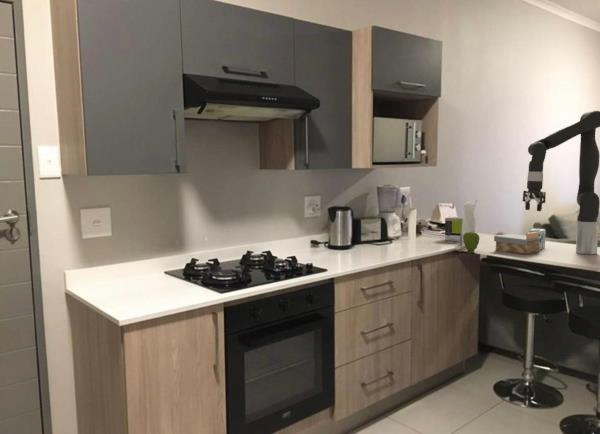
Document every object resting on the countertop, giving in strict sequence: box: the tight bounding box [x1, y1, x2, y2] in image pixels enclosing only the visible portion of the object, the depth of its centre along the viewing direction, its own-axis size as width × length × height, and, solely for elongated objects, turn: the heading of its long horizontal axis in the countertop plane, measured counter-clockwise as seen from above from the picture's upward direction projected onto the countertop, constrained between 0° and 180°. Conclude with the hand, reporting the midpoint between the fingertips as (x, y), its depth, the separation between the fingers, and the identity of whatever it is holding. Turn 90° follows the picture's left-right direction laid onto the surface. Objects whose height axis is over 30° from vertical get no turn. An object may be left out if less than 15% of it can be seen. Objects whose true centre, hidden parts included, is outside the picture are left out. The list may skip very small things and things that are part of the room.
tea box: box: [444, 216, 463, 242], centre depth 323 cm, size 15×10×15 cm, turn 58°
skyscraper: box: [459, 199, 478, 248], centre depth 299 cm, size 8×8×28 cm
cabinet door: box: [493, 232, 542, 245], centre depth 280 cm, size 19×15×6 cm
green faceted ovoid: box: [463, 232, 481, 253], centre depth 282 cm, size 9×8×12 cm
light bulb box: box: [528, 228, 547, 251], centre depth 291 cm, size 11×7×11 cm, turn 143°
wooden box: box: [495, 240, 540, 256], centre depth 281 cm, size 18×13×7 cm
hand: (533, 210), depth 272 cm, fingers open, 8 cm apart
